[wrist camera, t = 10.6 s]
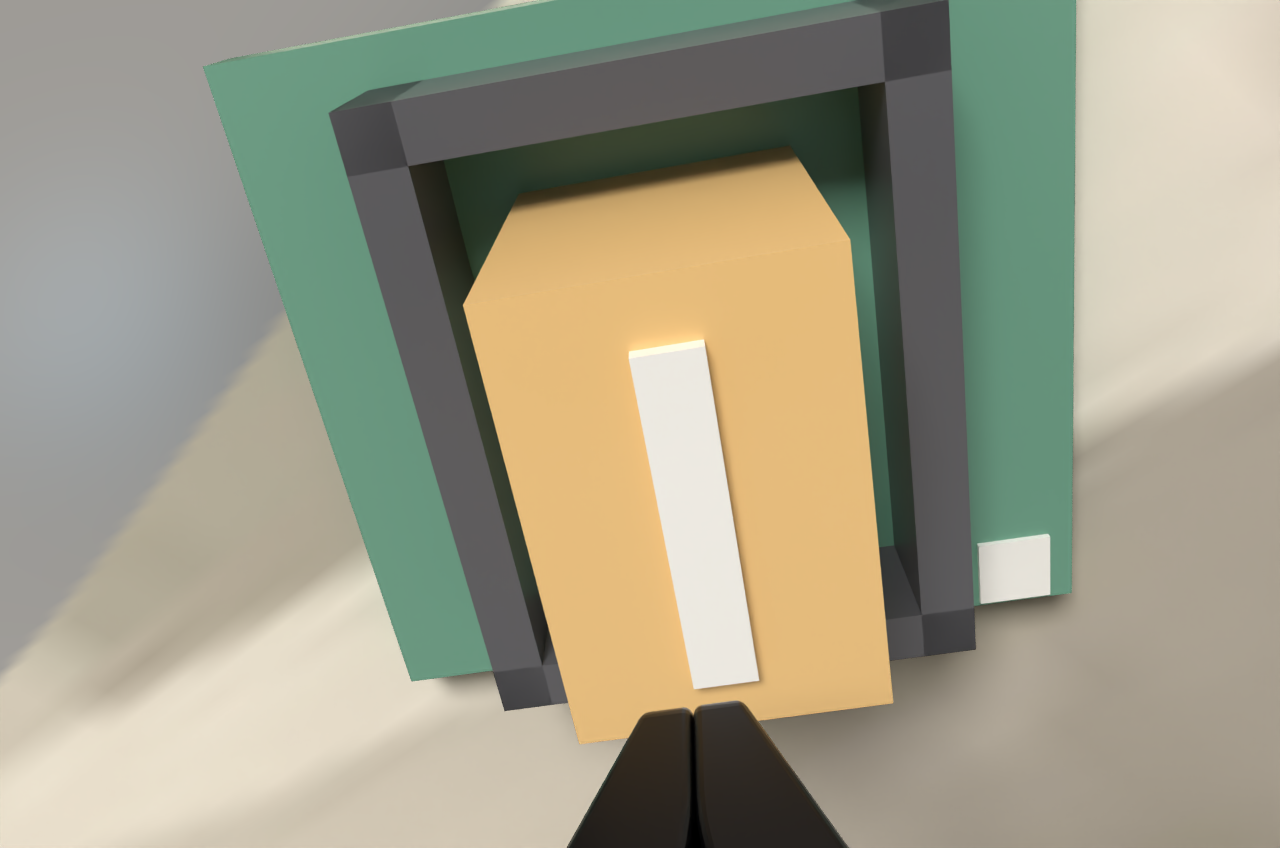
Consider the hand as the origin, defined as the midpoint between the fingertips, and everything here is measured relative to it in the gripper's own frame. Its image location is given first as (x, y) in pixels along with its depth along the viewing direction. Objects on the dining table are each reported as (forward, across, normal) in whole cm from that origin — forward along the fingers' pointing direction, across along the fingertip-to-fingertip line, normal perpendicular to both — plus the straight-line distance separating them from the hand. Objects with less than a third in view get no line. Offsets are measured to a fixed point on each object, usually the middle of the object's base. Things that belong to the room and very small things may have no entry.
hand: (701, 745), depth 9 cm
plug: (+9, 0, 0) cm, 9 cm away
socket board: (+10, 0, 0) cm, 10 cm away
